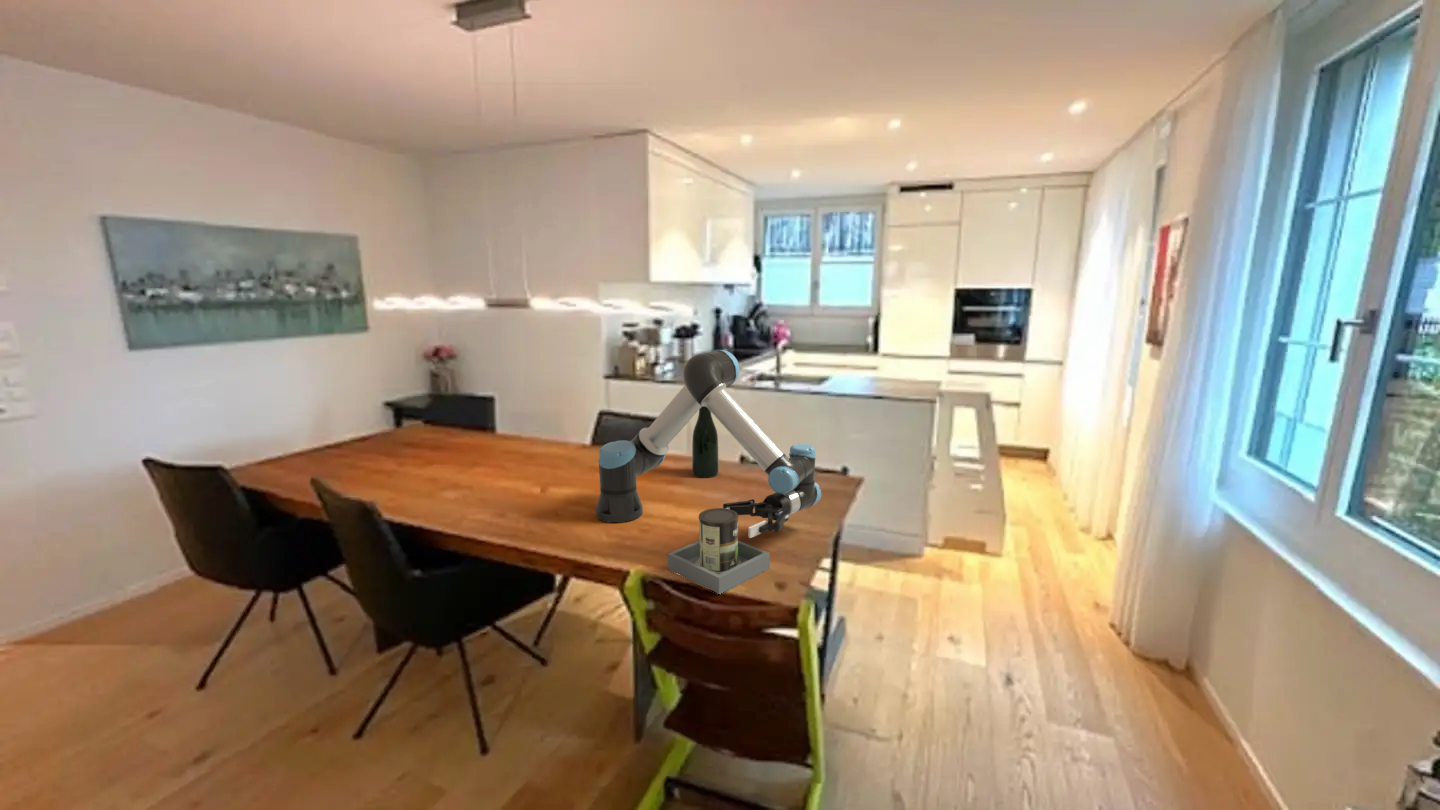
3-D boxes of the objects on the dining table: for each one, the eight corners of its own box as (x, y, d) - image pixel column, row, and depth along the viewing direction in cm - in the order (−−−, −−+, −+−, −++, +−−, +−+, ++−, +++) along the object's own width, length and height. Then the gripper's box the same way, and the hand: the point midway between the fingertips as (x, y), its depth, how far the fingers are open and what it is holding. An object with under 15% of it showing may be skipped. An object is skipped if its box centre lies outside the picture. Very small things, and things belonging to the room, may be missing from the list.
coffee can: (738, 556, 164) (738, 507, 161) (738, 574, 154) (738, 522, 151) (700, 556, 164) (699, 507, 162) (698, 574, 154) (697, 523, 151)
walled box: (719, 595, 146) (719, 578, 146) (667, 569, 159) (667, 553, 159) (769, 568, 160) (769, 552, 159) (718, 547, 173) (718, 532, 172)
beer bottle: (694, 469, 244) (693, 389, 237) (719, 470, 243) (719, 389, 236) (690, 478, 234) (689, 394, 227) (717, 478, 233) (717, 394, 226)
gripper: (816, 528, 167) (765, 553, 152) (749, 505, 184) (698, 525, 169) (816, 503, 165) (766, 525, 151) (749, 482, 183) (697, 500, 168)
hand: (730, 525), depth 160 cm, fingers open, 13 cm apart
